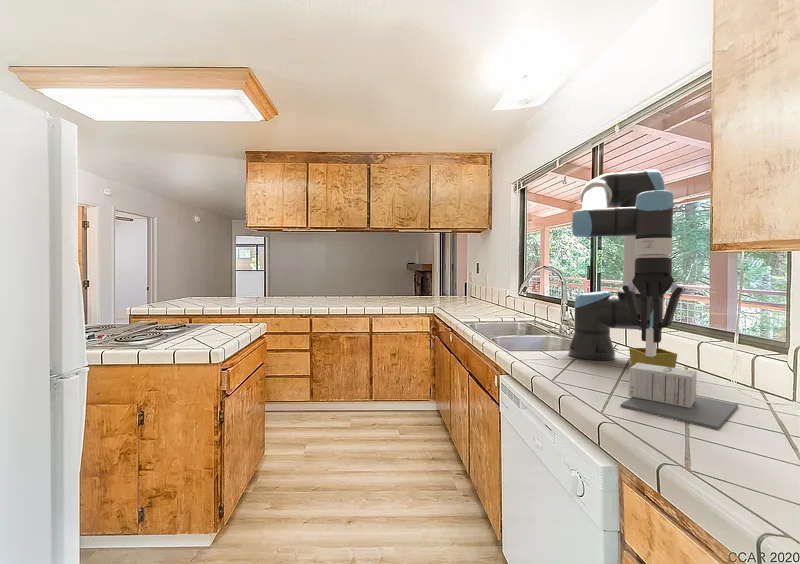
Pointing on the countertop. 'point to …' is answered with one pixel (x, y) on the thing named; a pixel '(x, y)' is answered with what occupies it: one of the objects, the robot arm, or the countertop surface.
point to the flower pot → (660, 359)
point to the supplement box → (663, 384)
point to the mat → (687, 410)
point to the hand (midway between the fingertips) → (650, 355)
